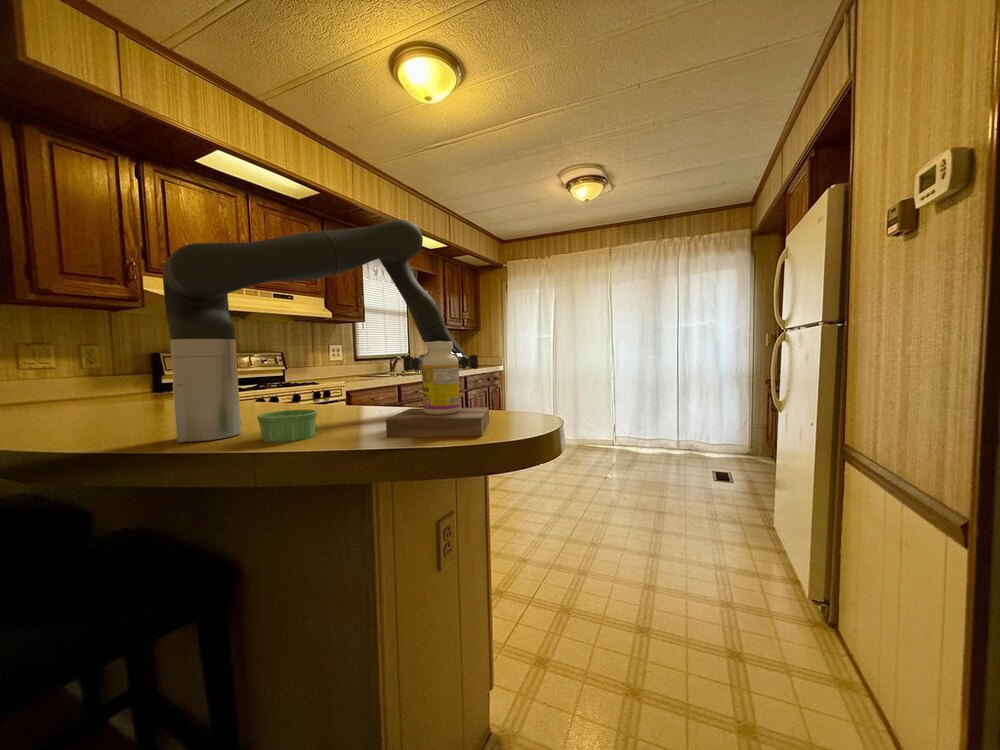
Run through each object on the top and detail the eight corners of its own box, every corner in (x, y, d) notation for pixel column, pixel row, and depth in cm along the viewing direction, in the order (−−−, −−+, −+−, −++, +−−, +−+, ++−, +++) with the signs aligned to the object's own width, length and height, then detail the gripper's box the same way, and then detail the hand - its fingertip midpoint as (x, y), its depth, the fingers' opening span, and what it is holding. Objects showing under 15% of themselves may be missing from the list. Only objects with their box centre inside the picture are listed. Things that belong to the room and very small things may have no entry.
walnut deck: (481, 436, 64) (481, 418, 64) (386, 437, 65) (385, 419, 65) (489, 422, 77) (488, 407, 77) (409, 423, 78) (409, 408, 78)
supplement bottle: (423, 410, 74) (421, 342, 73) (458, 409, 75) (456, 342, 75) (422, 416, 67) (420, 341, 67) (461, 414, 69) (459, 341, 68)
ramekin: (247, 445, 63) (245, 418, 62) (274, 434, 72) (273, 410, 71) (305, 443, 63) (304, 416, 63) (325, 432, 72) (324, 408, 72)
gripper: (409, 345, 85) (398, 343, 69) (475, 344, 87) (479, 341, 71) (411, 380, 86) (400, 385, 70) (476, 377, 87) (480, 382, 71)
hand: (439, 363), depth 70 cm, fingers open, 8 cm apart
